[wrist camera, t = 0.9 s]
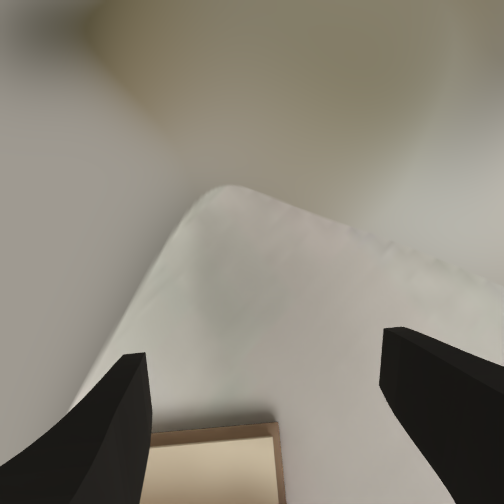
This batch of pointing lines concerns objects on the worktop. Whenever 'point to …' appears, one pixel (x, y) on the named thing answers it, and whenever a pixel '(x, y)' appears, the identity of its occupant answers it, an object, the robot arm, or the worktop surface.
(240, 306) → the worktop surface
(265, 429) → the panel
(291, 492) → the worktop surface
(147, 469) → the birch coaster
